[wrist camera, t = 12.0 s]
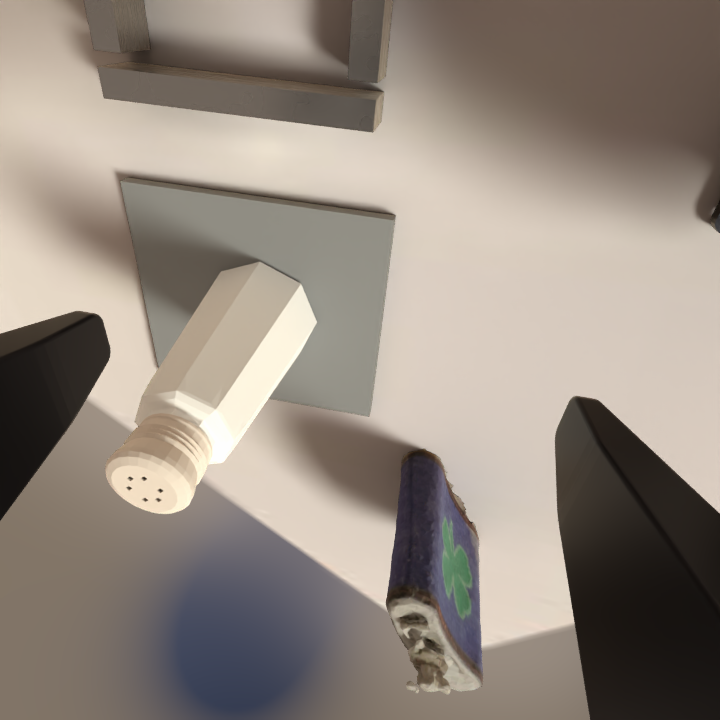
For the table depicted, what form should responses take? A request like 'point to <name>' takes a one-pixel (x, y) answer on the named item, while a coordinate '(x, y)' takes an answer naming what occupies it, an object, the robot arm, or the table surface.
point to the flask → (435, 579)
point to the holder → (239, 92)
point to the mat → (284, 254)
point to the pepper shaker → (211, 385)
